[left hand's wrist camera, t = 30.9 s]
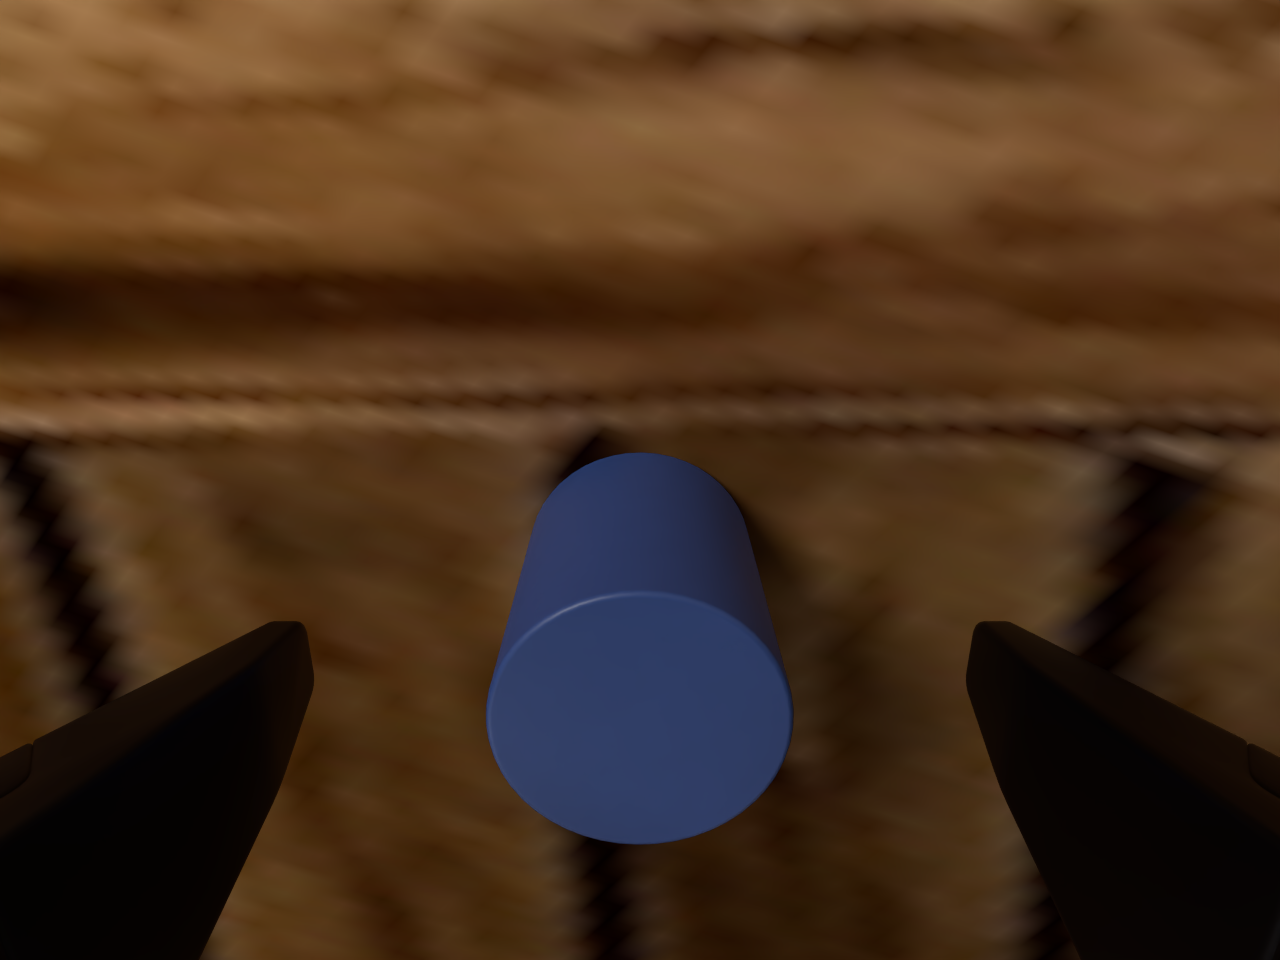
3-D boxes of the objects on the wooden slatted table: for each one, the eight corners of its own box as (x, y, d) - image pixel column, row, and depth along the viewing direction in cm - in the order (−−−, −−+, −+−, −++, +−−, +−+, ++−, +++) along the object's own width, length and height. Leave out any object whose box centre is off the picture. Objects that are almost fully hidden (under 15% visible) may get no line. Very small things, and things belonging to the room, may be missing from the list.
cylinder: (664, 406, 13) (674, 532, 9) (791, 573, 14) (853, 754, 10) (485, 533, 14) (420, 702, 10) (618, 681, 15) (610, 890, 11)
